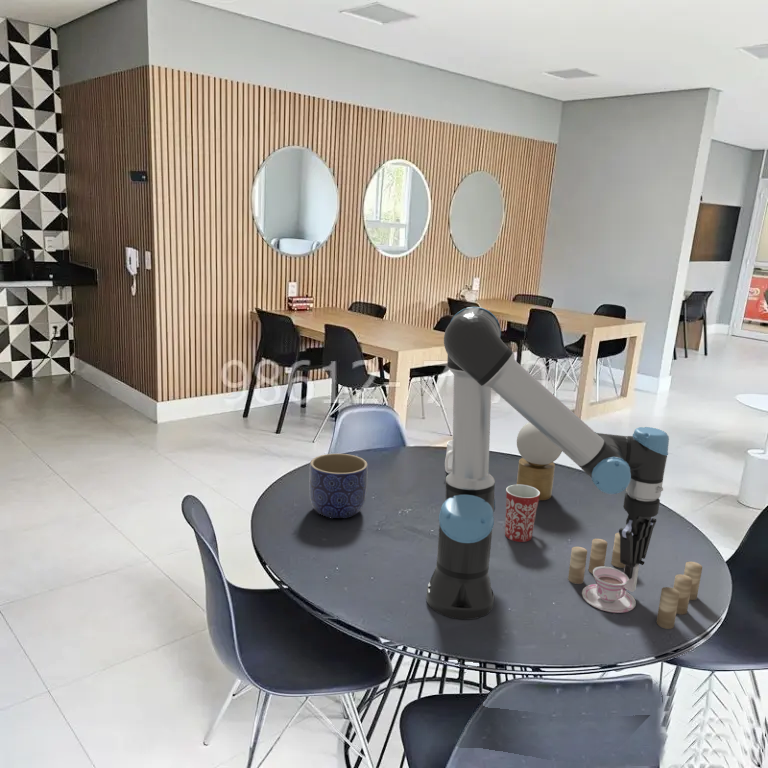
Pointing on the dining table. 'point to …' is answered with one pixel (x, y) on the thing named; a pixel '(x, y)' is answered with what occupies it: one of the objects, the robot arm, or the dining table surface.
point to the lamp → (536, 460)
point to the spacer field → (670, 597)
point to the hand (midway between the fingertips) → (628, 588)
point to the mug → (520, 512)
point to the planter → (338, 484)
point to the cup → (449, 457)
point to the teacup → (609, 591)
